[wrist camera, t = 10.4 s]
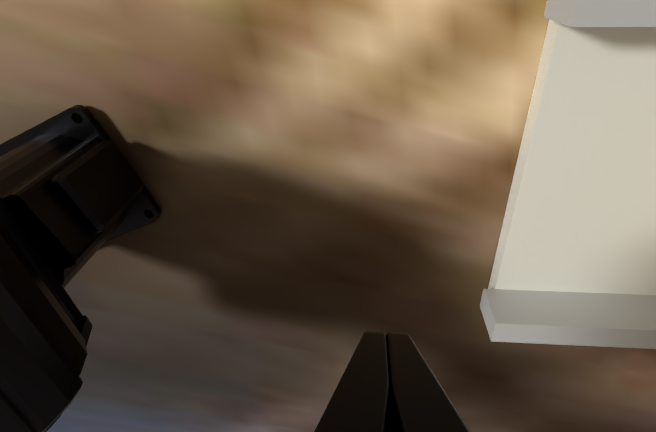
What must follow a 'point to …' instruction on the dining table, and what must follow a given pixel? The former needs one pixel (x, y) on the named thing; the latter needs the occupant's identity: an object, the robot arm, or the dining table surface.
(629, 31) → the box
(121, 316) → the dining table surface
